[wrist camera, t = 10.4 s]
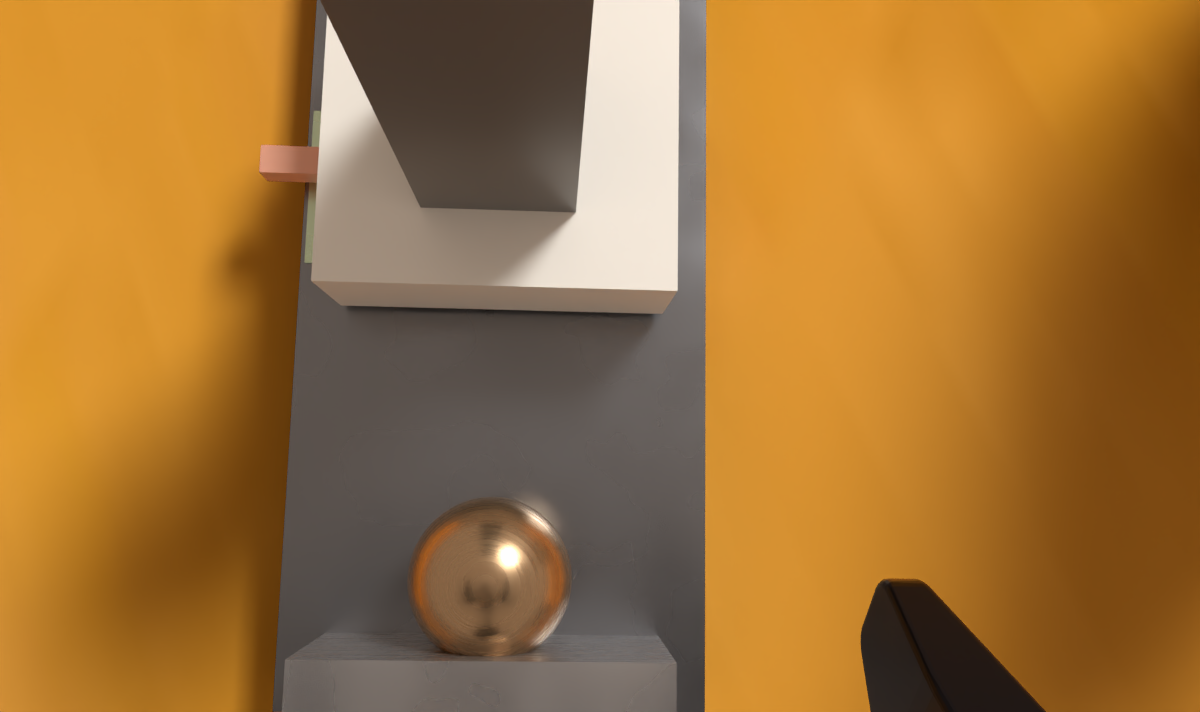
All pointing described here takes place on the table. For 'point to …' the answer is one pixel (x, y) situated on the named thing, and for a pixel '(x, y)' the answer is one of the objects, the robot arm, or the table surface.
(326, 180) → the press carriage
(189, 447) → the table surface
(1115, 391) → the table surface
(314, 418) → the nutcracker bench
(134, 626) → the table surface
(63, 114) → the table surface
